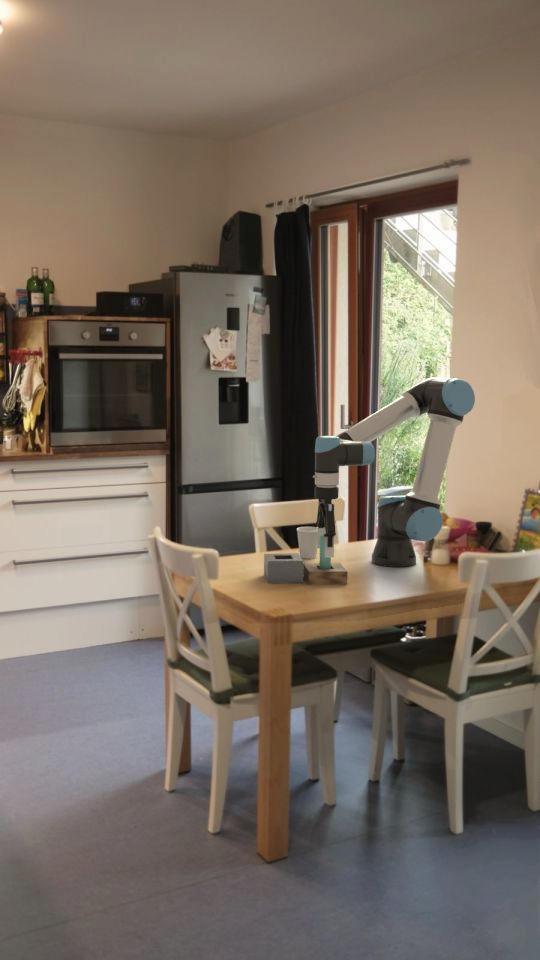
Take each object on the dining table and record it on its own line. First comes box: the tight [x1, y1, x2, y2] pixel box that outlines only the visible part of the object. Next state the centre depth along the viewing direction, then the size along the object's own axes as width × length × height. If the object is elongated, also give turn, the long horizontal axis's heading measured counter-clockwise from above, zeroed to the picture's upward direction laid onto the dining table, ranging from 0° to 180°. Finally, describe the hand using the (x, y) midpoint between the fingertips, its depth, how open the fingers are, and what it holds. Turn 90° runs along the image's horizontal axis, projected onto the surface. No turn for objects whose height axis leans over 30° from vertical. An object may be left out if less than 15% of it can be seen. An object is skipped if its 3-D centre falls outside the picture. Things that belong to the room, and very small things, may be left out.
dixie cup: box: [296, 526, 319, 560], centre depth 341 cm, size 8×8×10 cm
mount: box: [303, 562, 348, 586], centre depth 308 cm, size 12×12×4 cm
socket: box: [263, 552, 304, 584], centre depth 309 cm, size 11×11×7 cm
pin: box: [319, 535, 332, 569], centre depth 308 cm, size 4×4×14 cm
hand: (325, 552), depth 308 cm, fingers open, 13 cm apart
